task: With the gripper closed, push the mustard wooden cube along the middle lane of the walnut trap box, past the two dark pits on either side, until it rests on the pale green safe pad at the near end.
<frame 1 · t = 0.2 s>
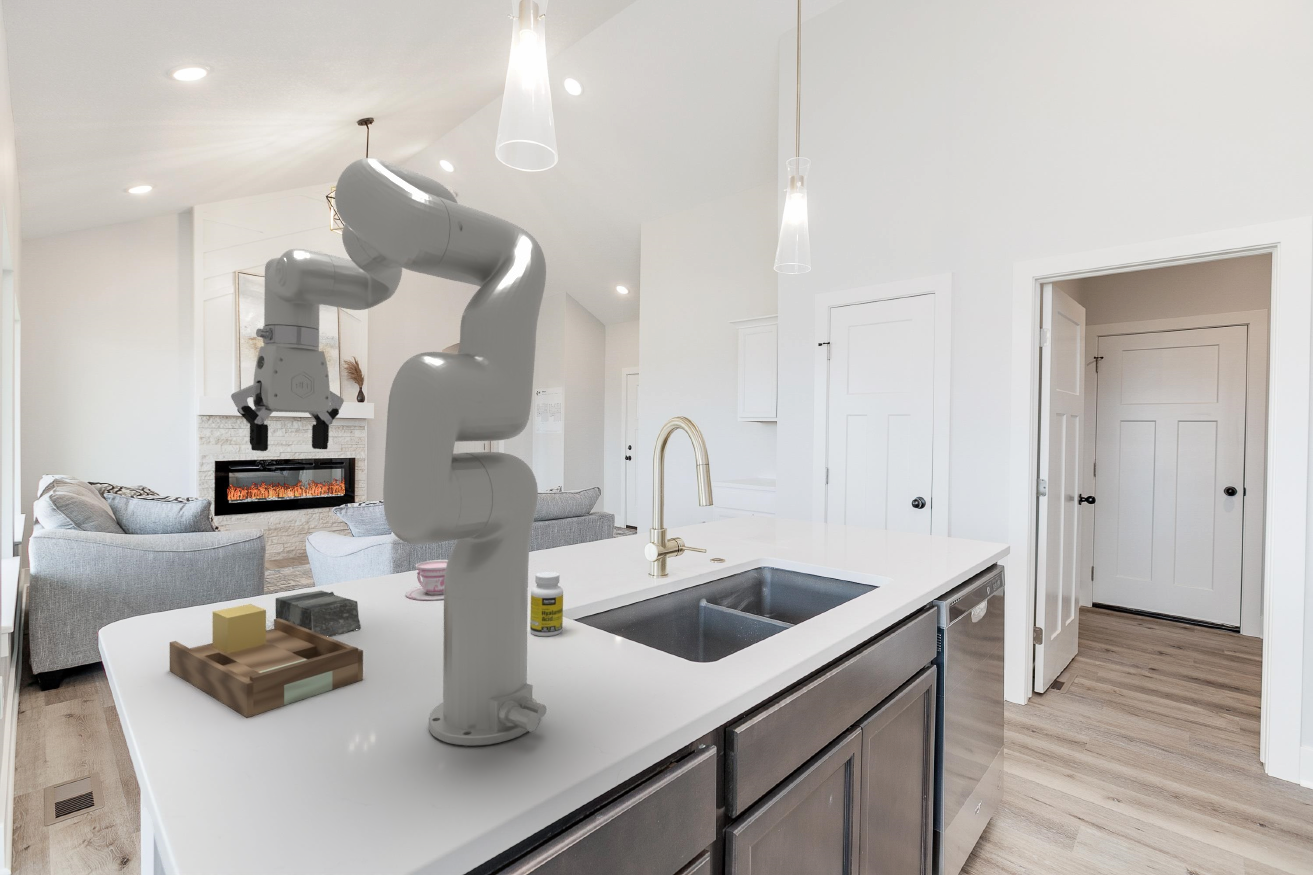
hand: (290, 449, 102), 31 cm above the worktop, tool pointing down, fingers open, 9 cm apart
supplement bottle: (546, 633, 109), on the worktop
teacup: (436, 594, 134), on the worktop
block: (239, 644, 94), point 2 cm above the worktop, touching trap box
trap box: (265, 675, 89), on the worktop
stone block: (320, 628, 111), on the worktop
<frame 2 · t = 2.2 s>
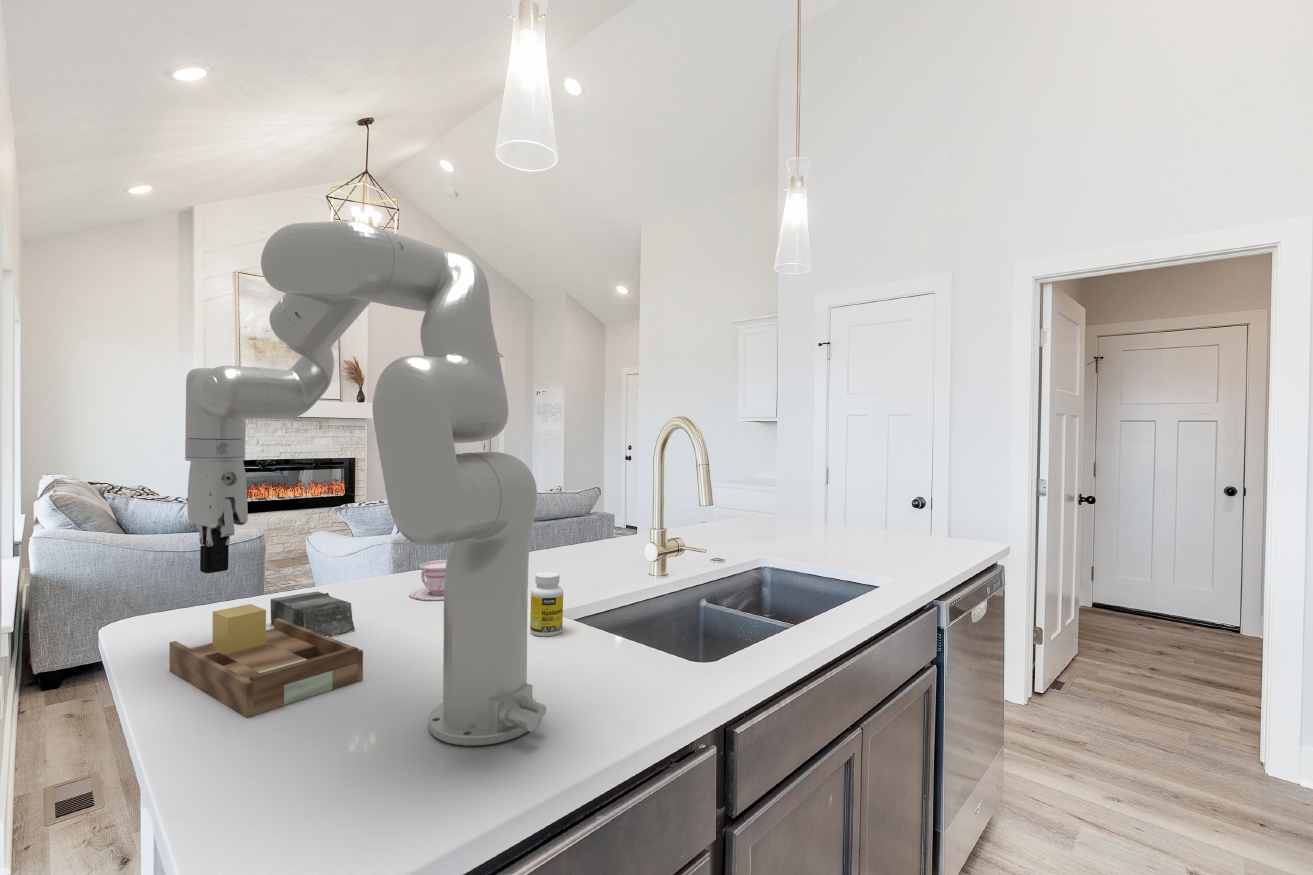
hand: (214, 570, 98), 12 cm above the worktop, tool pointing down, fingers closed
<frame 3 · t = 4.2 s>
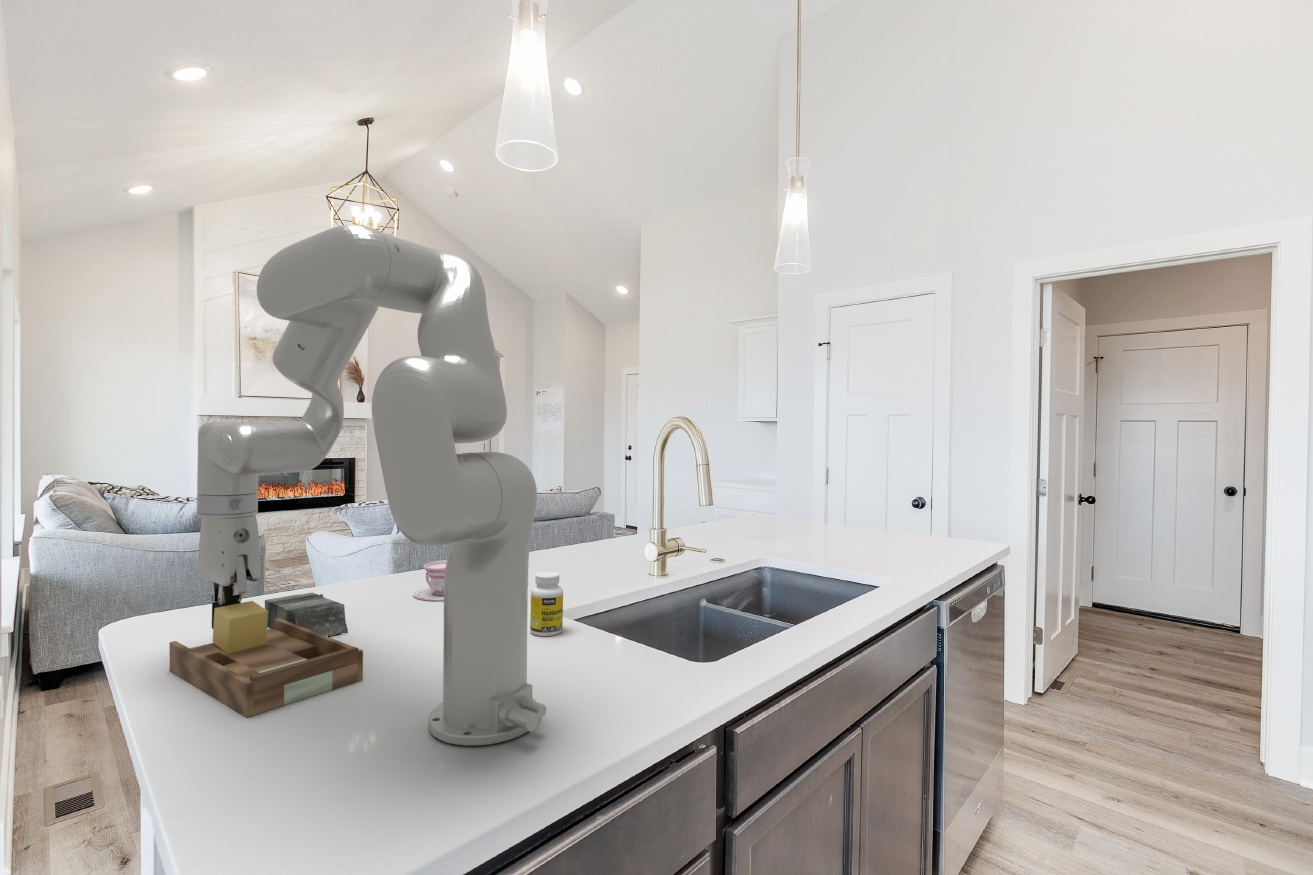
hand: (226, 627, 96), 4 cm above the worktop, tool pointing down, fingers closed
block: (239, 642, 94), point 3 cm above the worktop, tilted 8°, touching gripper, trap box
stone block: (308, 631, 109), on the worktop
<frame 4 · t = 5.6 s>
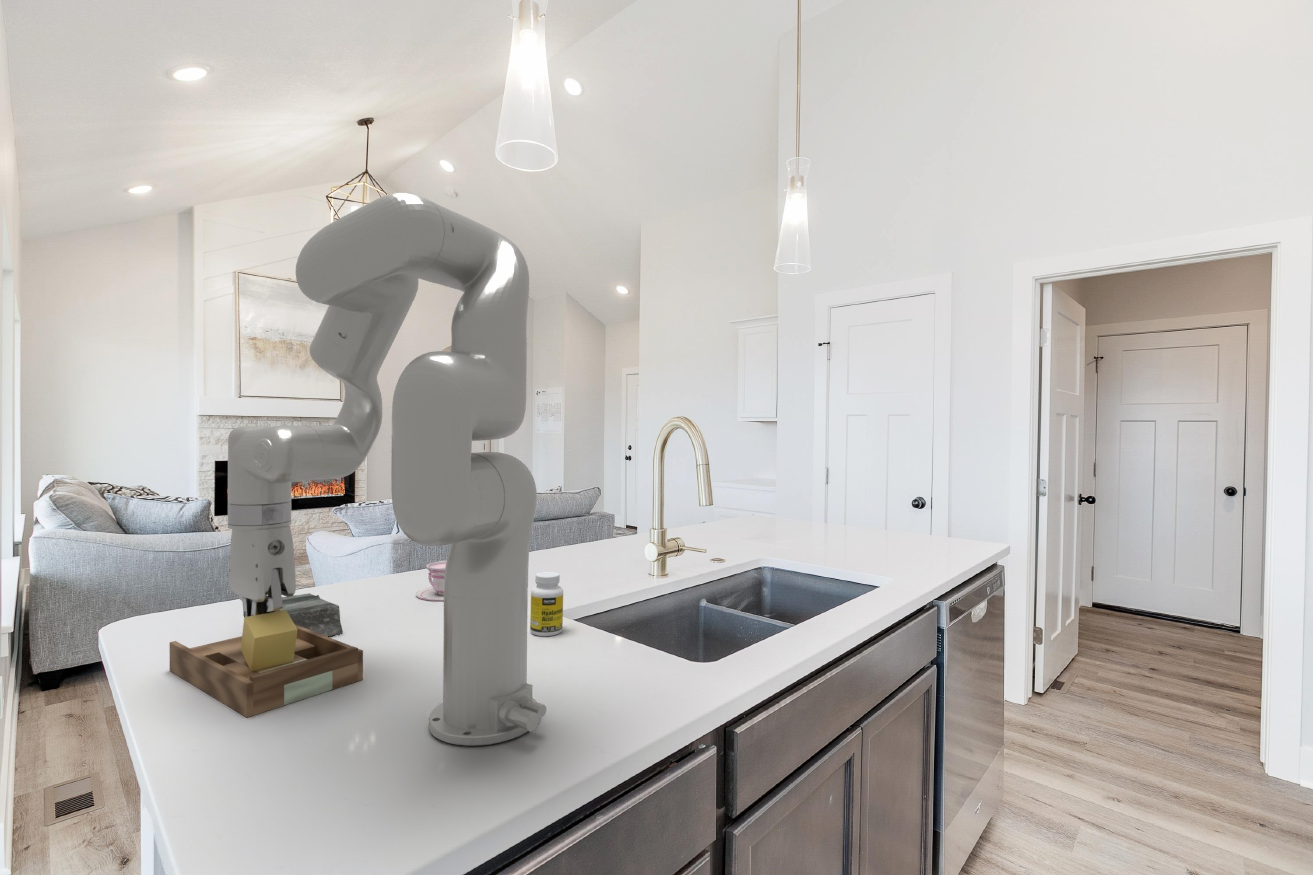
hand: (259, 646, 90), 4 cm above the worktop, tool pointing down, fingers closed
block: (267, 655, 87), point 3 cm above the worktop, tilted 19°, touching gripper
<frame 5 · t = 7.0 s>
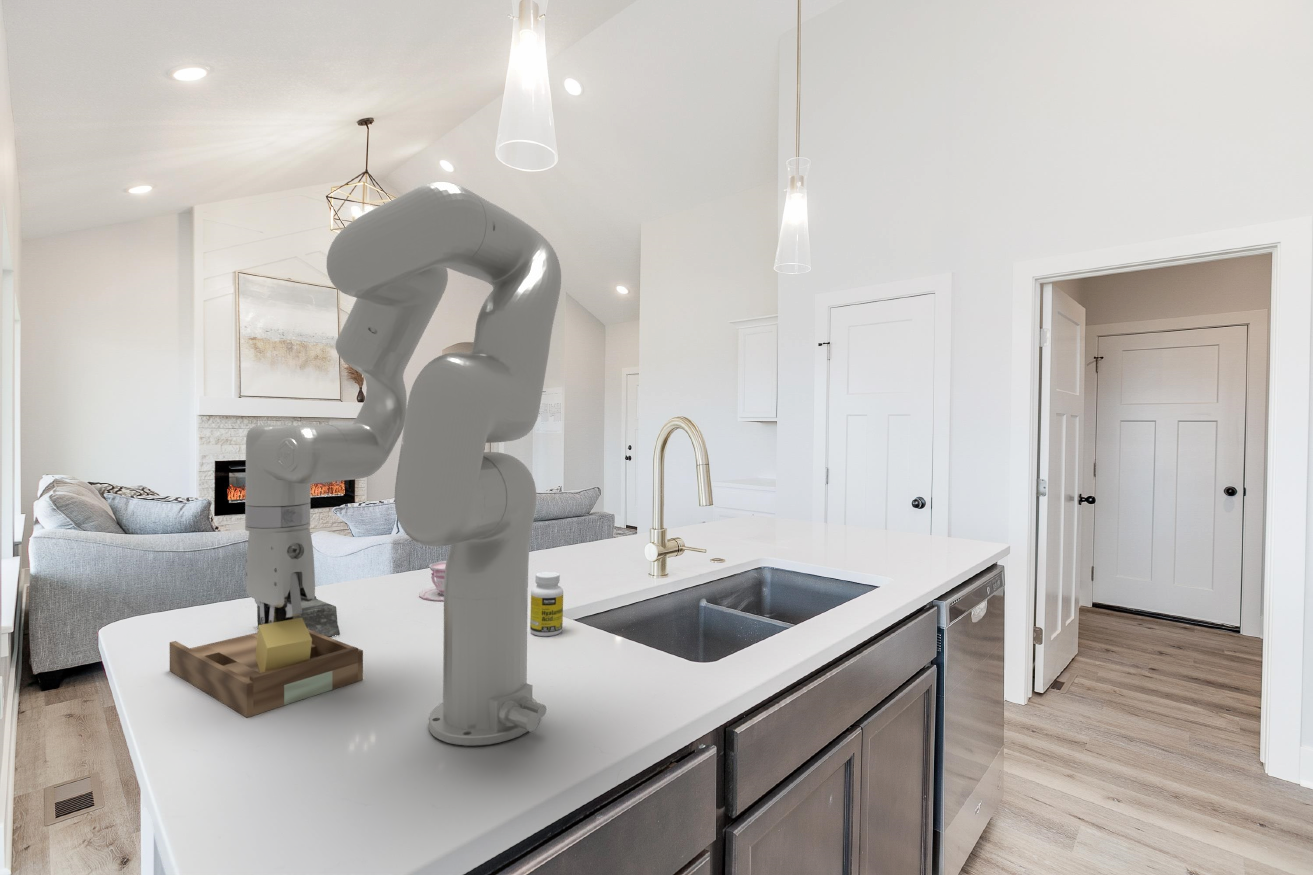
hand: (277, 653, 87), 4 cm above the worktop, tool pointing down, fingers closed
block: (281, 664, 84), point 3 cm above the worktop, tilted 20°, touching gripper, trap box
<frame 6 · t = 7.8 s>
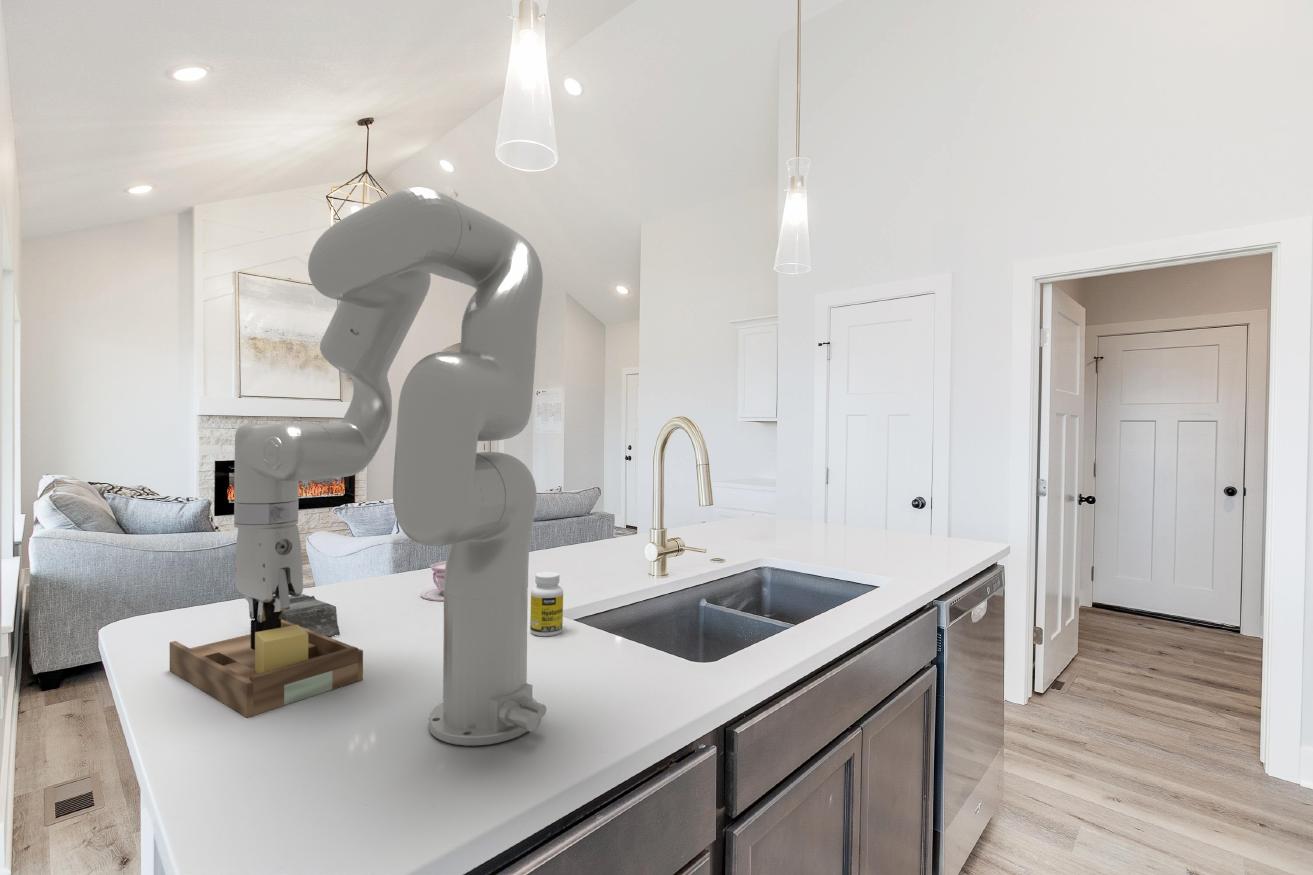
hand: (265, 647, 89), 4 cm above the worktop, tool pointing down, fingers closed
block: (281, 671, 84), point 2 cm above the worktop, touching trap box
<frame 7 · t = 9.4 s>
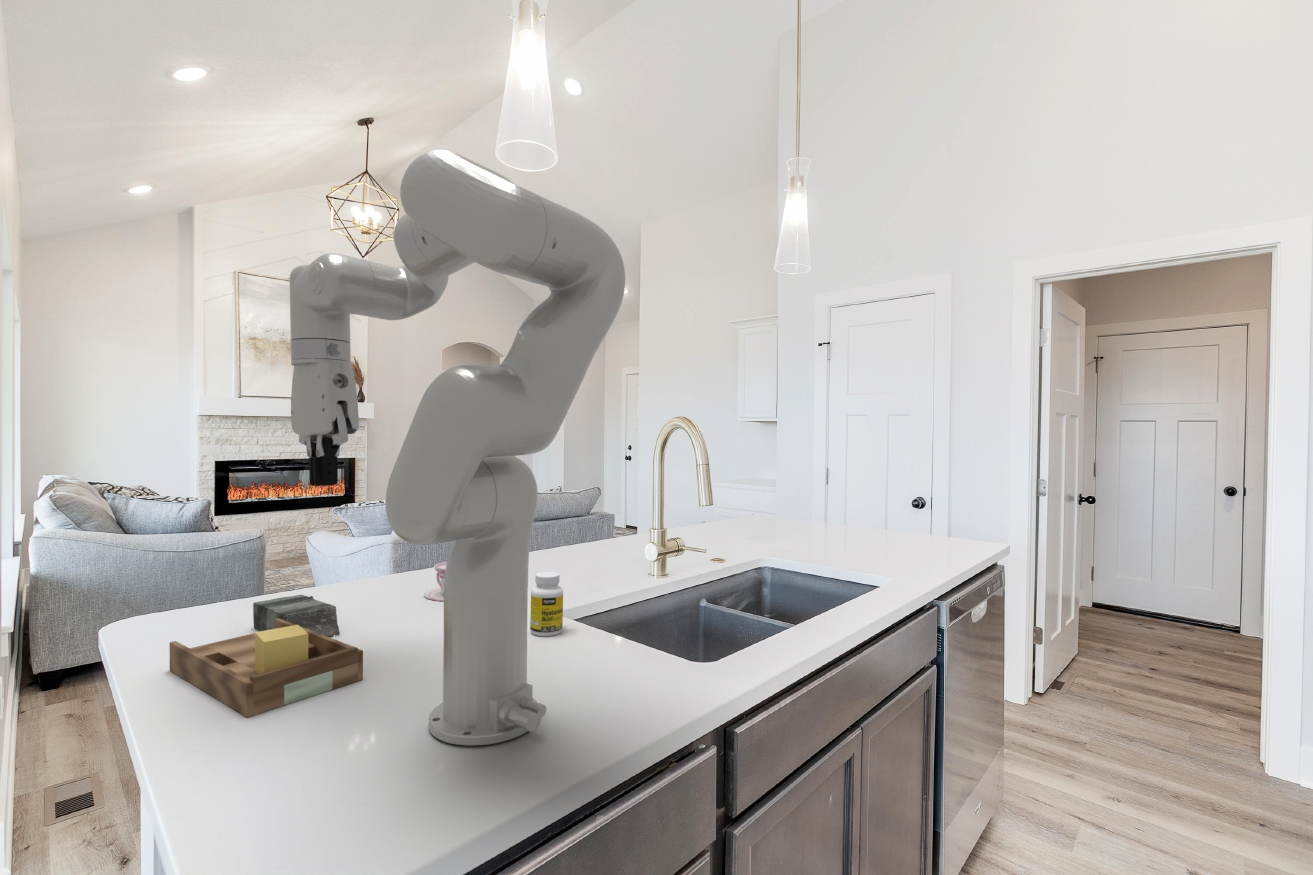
hand: (323, 484, 92), 26 cm above the worktop, tool pointing down, fingers closed
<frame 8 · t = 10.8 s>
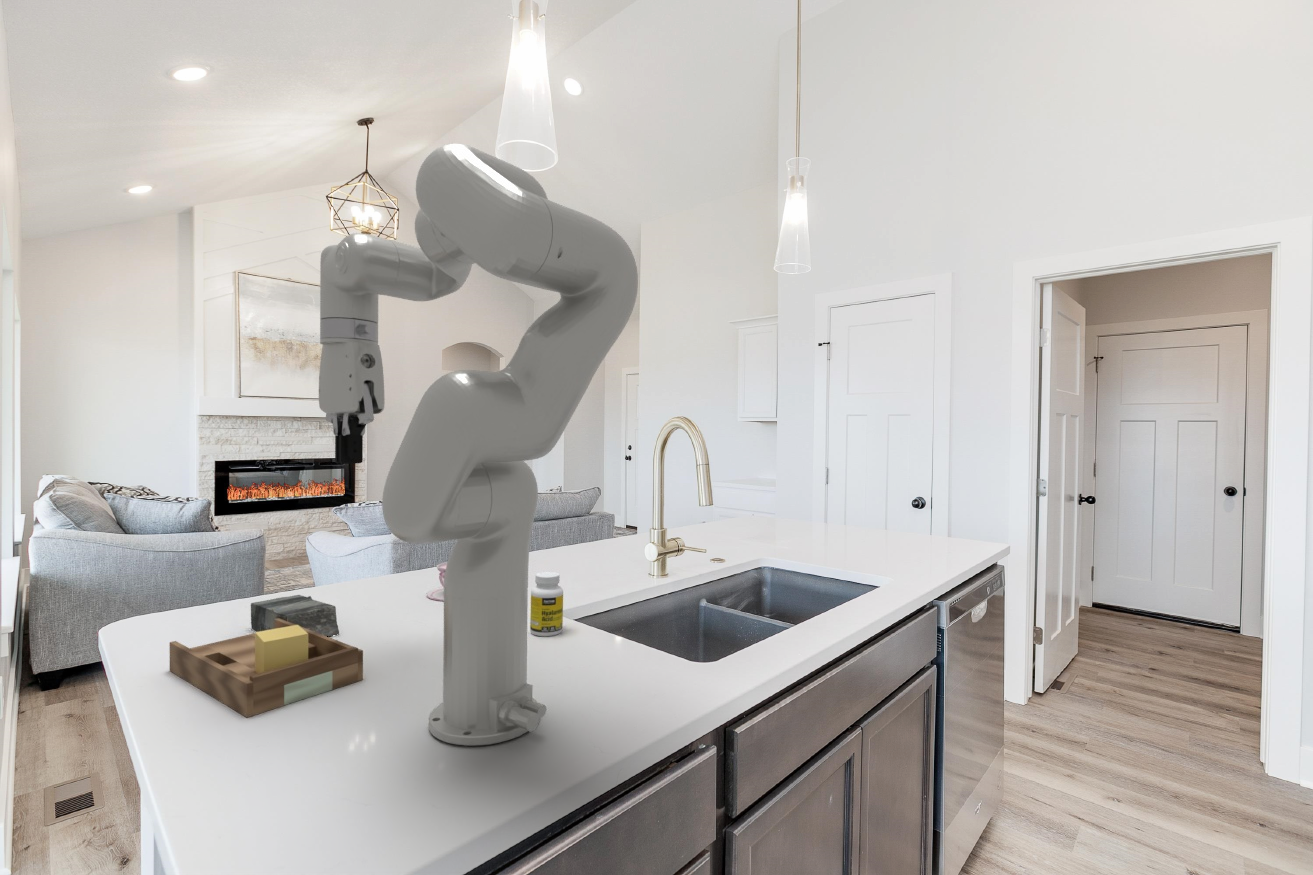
hand: (348, 462, 93), 29 cm above the worktop, tool pointing down, fingers closed
at the end: block inside the target area on the trap box (1.2 cm from its centre), point 2.5 cm above the trap box's base; block tilted 0° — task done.
